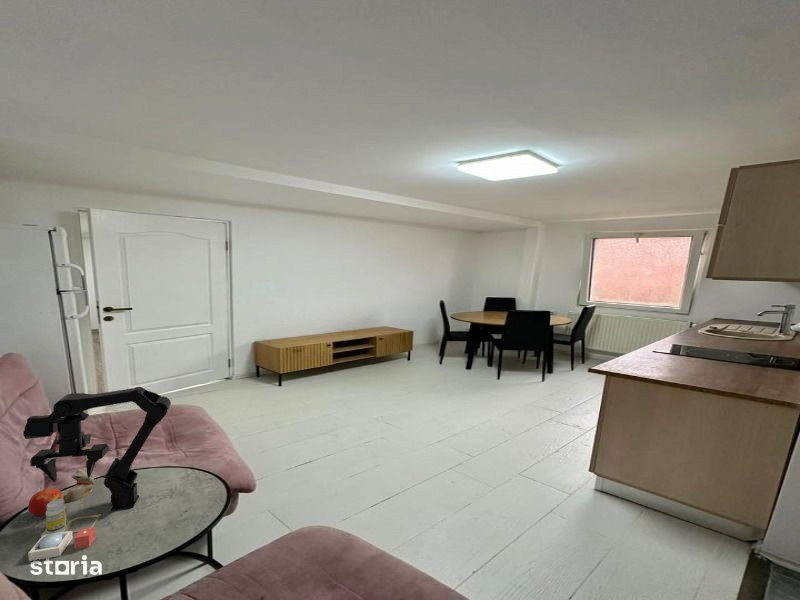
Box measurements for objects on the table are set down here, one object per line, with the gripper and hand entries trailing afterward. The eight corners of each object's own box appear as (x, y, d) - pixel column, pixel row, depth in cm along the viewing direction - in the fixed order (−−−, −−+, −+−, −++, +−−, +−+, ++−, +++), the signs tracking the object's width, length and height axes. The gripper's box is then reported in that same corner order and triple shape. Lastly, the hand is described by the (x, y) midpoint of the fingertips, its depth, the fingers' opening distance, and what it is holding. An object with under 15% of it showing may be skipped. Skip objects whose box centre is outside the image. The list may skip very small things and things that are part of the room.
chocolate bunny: (93, 496, 131) (92, 469, 130) (63, 503, 127) (62, 476, 126) (95, 488, 136) (94, 462, 135) (66, 495, 132) (65, 468, 130)
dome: (66, 540, 111) (65, 530, 110) (57, 552, 106) (56, 542, 106) (46, 543, 109) (45, 534, 109) (36, 555, 105) (35, 546, 104)
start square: (101, 515, 122) (101, 514, 122) (90, 530, 116) (90, 529, 116) (74, 519, 120) (74, 518, 120) (62, 534, 113) (62, 533, 113)
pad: (72, 520, 119) (72, 520, 119) (63, 533, 114) (63, 532, 114) (51, 523, 118) (51, 523, 118) (40, 536, 112) (40, 535, 112)
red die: (95, 538, 113) (94, 526, 112) (89, 546, 109) (88, 535, 109) (80, 540, 111) (80, 529, 111) (74, 549, 108) (73, 537, 108)
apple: (49, 521, 118) (47, 498, 118) (21, 522, 118) (19, 498, 117) (69, 505, 126) (68, 483, 125) (43, 505, 126) (41, 483, 125)
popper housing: (72, 538, 112) (72, 530, 112) (59, 555, 106) (59, 547, 105) (43, 542, 110) (43, 535, 110) (28, 561, 103) (28, 553, 103)
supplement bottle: (55, 522, 118) (53, 497, 117) (71, 522, 118) (69, 497, 117) (42, 533, 113) (40, 508, 112) (59, 533, 114) (57, 507, 113)
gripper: (114, 420, 130) (116, 462, 132) (48, 425, 124) (51, 469, 126) (100, 435, 120) (102, 480, 122) (27, 441, 114) (30, 488, 116)
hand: (72, 478), depth 122 cm, fingers open, 9 cm apart
